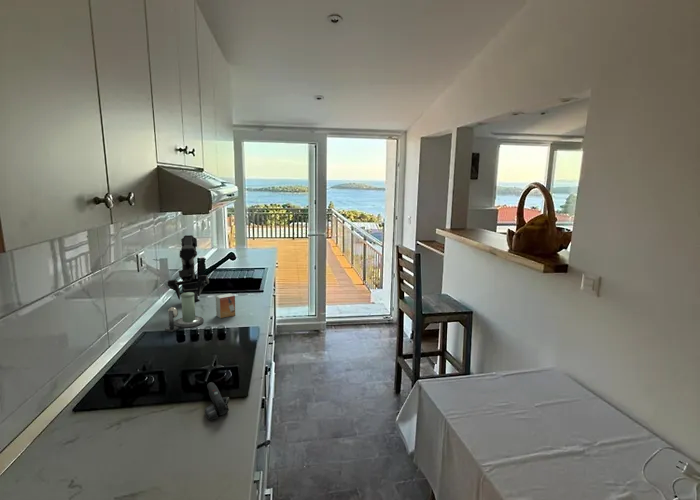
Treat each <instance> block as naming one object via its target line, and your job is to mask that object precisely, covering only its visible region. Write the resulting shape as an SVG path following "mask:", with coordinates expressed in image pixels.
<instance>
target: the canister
mask: <svg viewBox="0 0 700 500" xmlns="http://www.w3.org/2000/svg"><path fill="white" fill-rule="evenodd" d="M180 299H181V314H182V317H181V318H183V322H193V321H195V316H196V306H195V305H196V302H194V293H193V292H186V293H184V292H182V293H180Z"/></svg>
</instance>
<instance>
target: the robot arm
mask: <svg viewBox="0 0 700 500" xmlns="http://www.w3.org/2000/svg"><path fill="white" fill-rule="evenodd" d="M180 241H181V242H180V243H181V244H180V245H181V247H180V248H181V250H179V258H180V259H181V263H182V266H181V270H179V271H178V275H179V278H180V281H178V280H177V279H170V280H169V279H168V281H167V286H168V288H169V289H170V290H173V291H175V294H176V296H177V299H178V300H179V301H180V299H181V290H182V293H186V292H193V293H194V302H195V303H196V302H200V299H198V298H199V297H200V295H201V293H202V292H203V289H204V288H205V287H206V286H207V285H208V284H210V280H209V278H208V276H207V274H202V275H198V277H197V274H196V272H195V260H194V259H195V258H196V257H197V256H198V251H197V248H198V239H197V238H196V237H194V235H190V234H189V235H188V234H187V235H184V236H183V237H182V238H181V240H180ZM180 286H181V289H180Z"/></svg>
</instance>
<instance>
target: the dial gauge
mask: <svg viewBox="0 0 700 500" xmlns="http://www.w3.org/2000/svg"><path fill="white" fill-rule="evenodd" d="M167 313H168V324H169V325H168V327H165V328H164V331H165V332H169V333H173V332H176V331H179V329H180V328H179V327H176V326H175V325H174V322H175V321H174V320H175V318H176V317H178V316H179V310H178V309H177V308H176V307H175V306H171V307H169V308H168V310H167Z"/></svg>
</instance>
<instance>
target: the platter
mask: <svg viewBox="0 0 700 500" xmlns="http://www.w3.org/2000/svg"><path fill="white" fill-rule="evenodd" d="M204 321H205V320H204V317H202V316H198V315H195V321H193V322H183V317H180V318H178V319H176V320H175V321H174V326H176V327H179V329H190V328H194V327H198V326H201V325H203V324H204Z"/></svg>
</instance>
